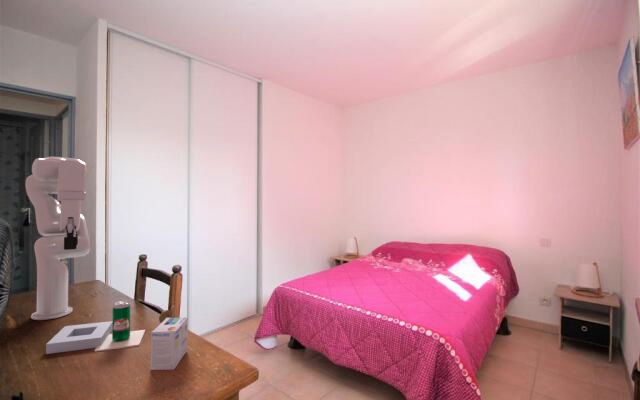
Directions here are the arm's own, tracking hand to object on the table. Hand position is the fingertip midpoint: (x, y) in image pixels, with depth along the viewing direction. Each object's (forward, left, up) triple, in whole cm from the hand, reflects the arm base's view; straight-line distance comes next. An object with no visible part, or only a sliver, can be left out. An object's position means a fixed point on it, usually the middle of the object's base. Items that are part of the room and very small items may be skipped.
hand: (71, 247), depth 106 cm
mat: (+9, +17, -30) cm, 36 cm away
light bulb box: (+28, +33, -31) cm, 53 cm away
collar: (+5, +5, -30) cm, 31 cm away
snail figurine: (+14, +31, -31) cm, 46 cm away
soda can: (+9, +17, -30) cm, 36 cm away
